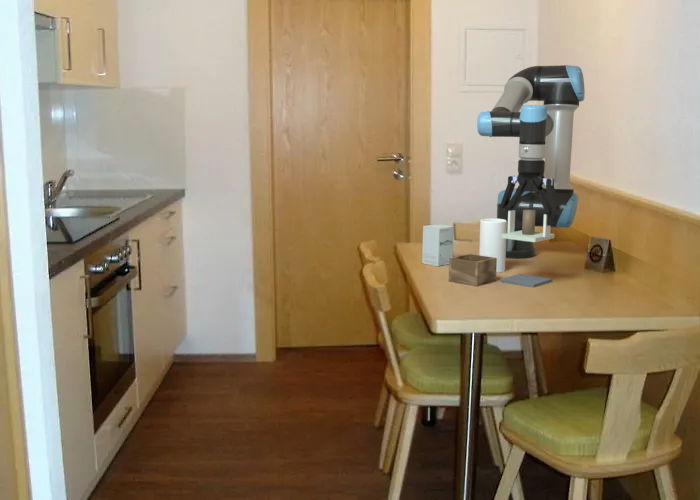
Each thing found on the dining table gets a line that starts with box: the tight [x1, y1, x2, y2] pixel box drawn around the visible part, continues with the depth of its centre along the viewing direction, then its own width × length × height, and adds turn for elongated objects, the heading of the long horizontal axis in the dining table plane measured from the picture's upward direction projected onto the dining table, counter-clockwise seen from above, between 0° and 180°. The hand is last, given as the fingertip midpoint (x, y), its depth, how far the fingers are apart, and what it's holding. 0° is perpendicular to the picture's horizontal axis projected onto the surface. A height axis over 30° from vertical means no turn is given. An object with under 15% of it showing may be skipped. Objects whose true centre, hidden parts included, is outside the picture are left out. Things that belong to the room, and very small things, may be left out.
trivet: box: [499, 273, 553, 288], centre depth 245 cm, size 11×11×1 cm
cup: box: [478, 218, 507, 274], centre depth 261 cm, size 8×8×16 cm
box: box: [448, 253, 497, 287], centre depth 245 cm, size 10×10×7 cm
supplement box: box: [421, 224, 455, 267], centre depth 272 cm, size 7×7×13 cm
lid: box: [502, 210, 555, 243], centre depth 242 cm, size 11×11×8 cm
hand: (528, 234), depth 243 cm, fingers closed on lid, 11 cm apart
